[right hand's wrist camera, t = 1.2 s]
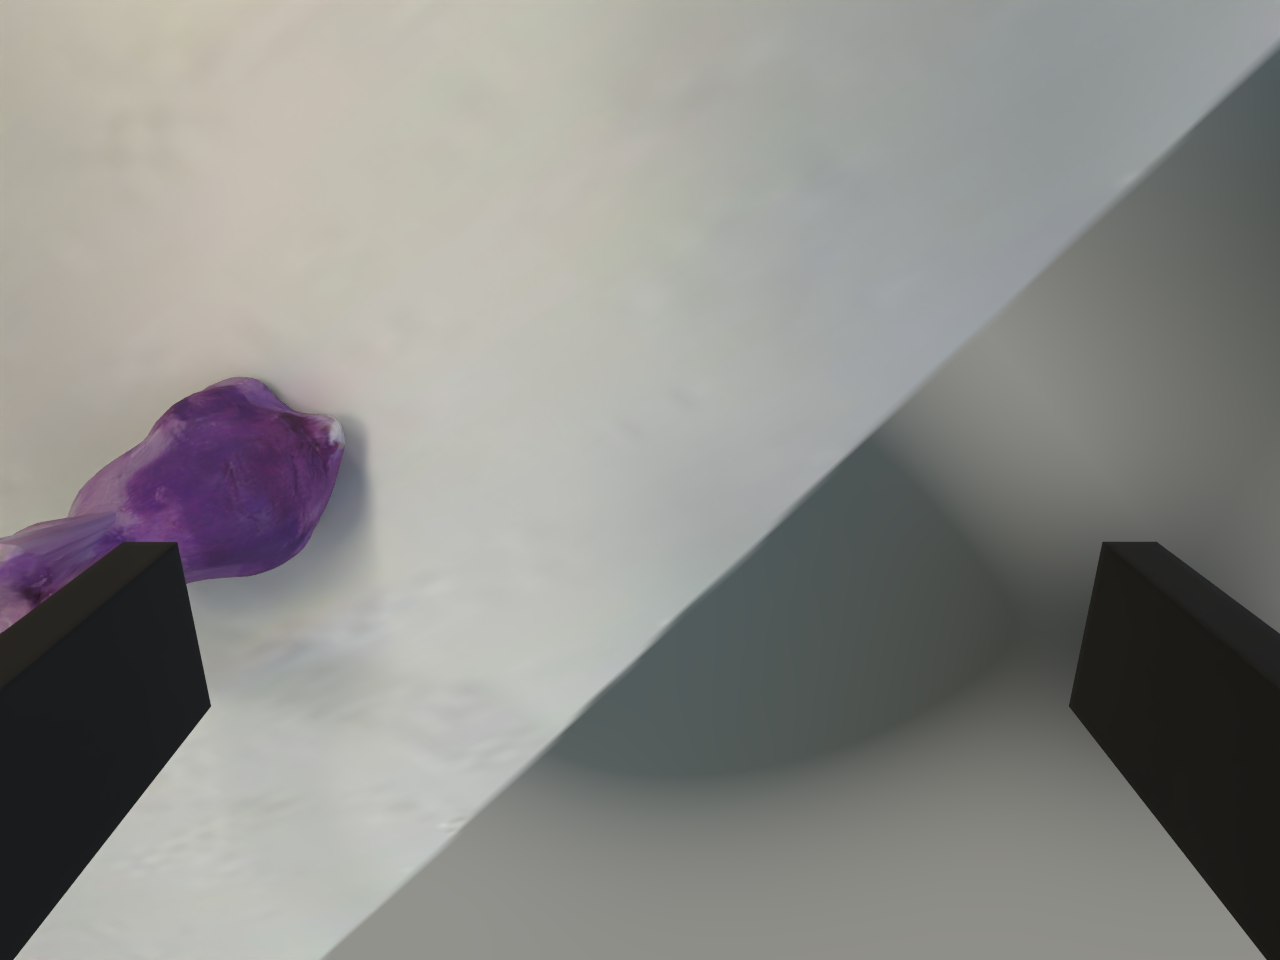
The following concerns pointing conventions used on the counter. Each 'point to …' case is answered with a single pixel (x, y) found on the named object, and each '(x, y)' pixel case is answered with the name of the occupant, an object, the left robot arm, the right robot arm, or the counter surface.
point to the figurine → (190, 495)
